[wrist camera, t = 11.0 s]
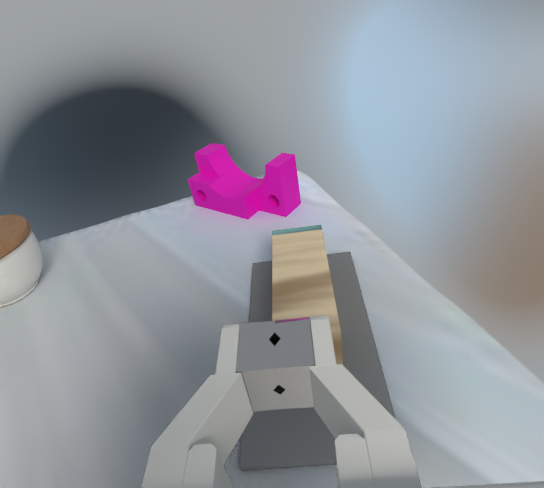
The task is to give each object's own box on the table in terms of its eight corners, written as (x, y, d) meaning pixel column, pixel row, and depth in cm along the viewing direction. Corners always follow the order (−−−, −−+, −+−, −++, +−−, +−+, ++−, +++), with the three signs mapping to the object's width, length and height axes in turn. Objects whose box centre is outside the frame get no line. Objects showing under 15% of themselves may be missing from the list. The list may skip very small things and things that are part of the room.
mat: (404, 459, 25) (405, 455, 25) (240, 470, 26) (239, 467, 26) (350, 255, 43) (350, 251, 43) (253, 266, 44) (252, 263, 44)
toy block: (195, 206, 59) (181, 160, 54) (222, 187, 62) (211, 143, 58) (275, 227, 50) (266, 175, 46) (300, 204, 54) (294, 154, 50)
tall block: (340, 330, 28) (321, 224, 39) (272, 337, 28) (272, 231, 40) (343, 372, 31) (324, 262, 42) (281, 378, 31) (279, 268, 42)
